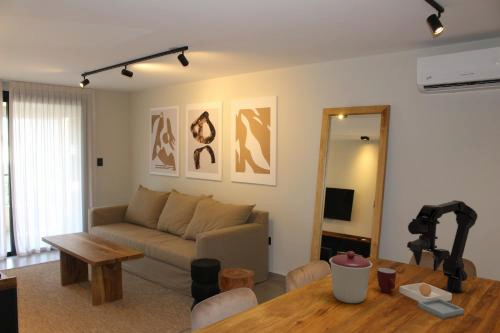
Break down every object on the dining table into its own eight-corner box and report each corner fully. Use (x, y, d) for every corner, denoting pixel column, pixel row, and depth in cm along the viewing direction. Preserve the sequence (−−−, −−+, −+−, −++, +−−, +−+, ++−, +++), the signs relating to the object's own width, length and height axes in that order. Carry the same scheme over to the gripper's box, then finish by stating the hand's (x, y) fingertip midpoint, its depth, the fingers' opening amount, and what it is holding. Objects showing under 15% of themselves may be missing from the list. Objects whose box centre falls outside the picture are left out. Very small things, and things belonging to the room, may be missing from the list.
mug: (402, 296, 175) (403, 274, 174) (387, 297, 172) (388, 275, 172) (387, 287, 185) (388, 267, 184) (372, 289, 182) (373, 268, 182)
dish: (423, 288, 185) (423, 282, 185) (451, 300, 171) (451, 293, 171) (399, 292, 179) (399, 286, 179) (426, 305, 165) (427, 298, 165)
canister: (377, 299, 170) (380, 251, 169) (358, 311, 156) (360, 259, 155) (341, 288, 182) (342, 244, 181) (319, 298, 169) (321, 250, 168)
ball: (424, 292, 178) (424, 281, 178) (433, 296, 174) (434, 285, 174) (416, 293, 176) (417, 283, 176) (425, 297, 172) (426, 286, 171)
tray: (438, 303, 167) (438, 298, 167) (463, 314, 156) (464, 309, 156) (418, 307, 162) (418, 302, 162) (442, 319, 151) (443, 313, 151)
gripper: (399, 229, 179) (397, 263, 180) (433, 238, 162) (430, 275, 163) (417, 229, 184) (414, 261, 184) (452, 237, 167) (449, 273, 167)
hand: (426, 267), depth 174 cm, fingers open, 9 cm apart
